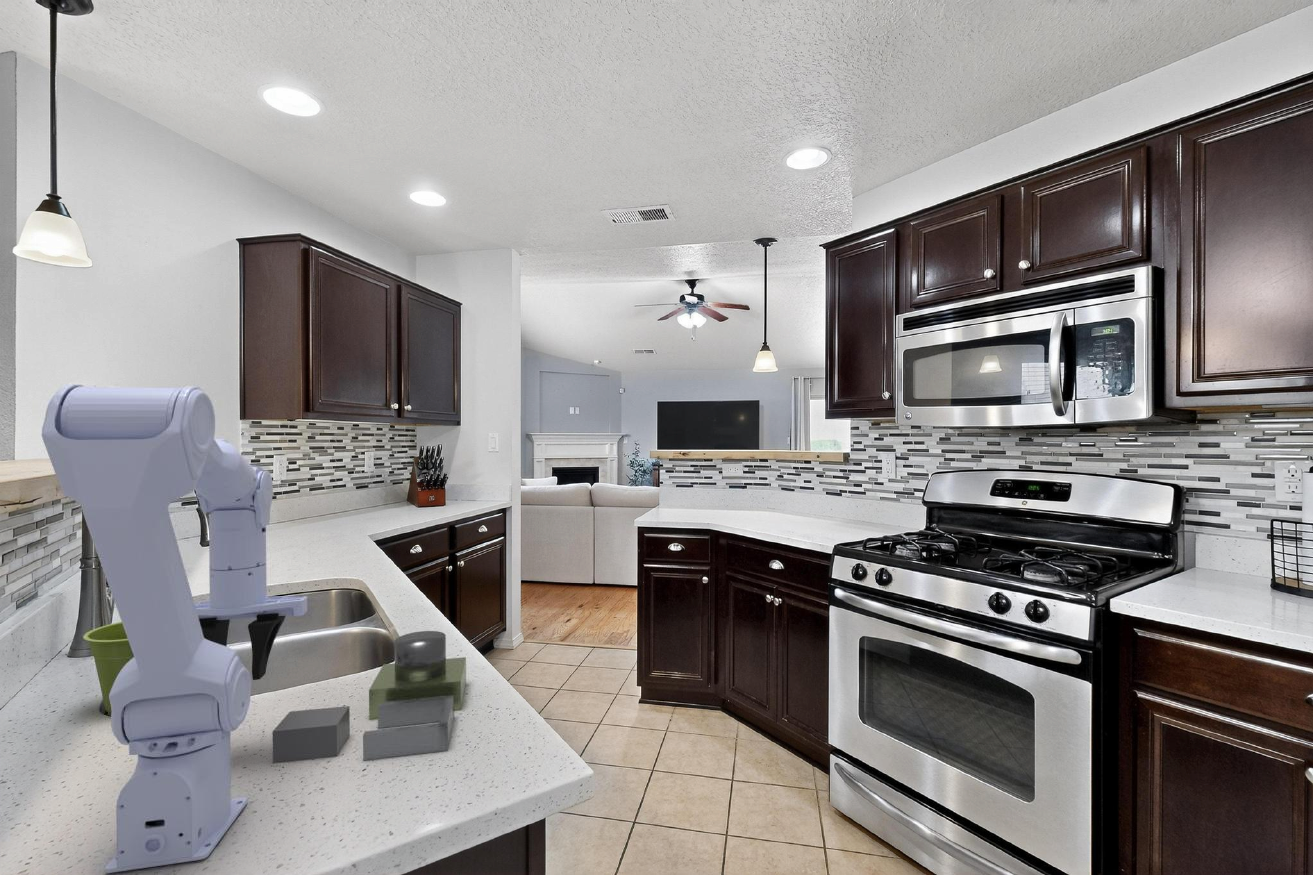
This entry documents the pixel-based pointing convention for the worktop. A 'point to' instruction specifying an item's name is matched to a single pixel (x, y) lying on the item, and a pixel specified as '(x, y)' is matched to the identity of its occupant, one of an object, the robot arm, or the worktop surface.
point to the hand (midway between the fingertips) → (239, 678)
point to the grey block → (311, 734)
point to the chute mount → (415, 698)
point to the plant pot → (109, 655)
